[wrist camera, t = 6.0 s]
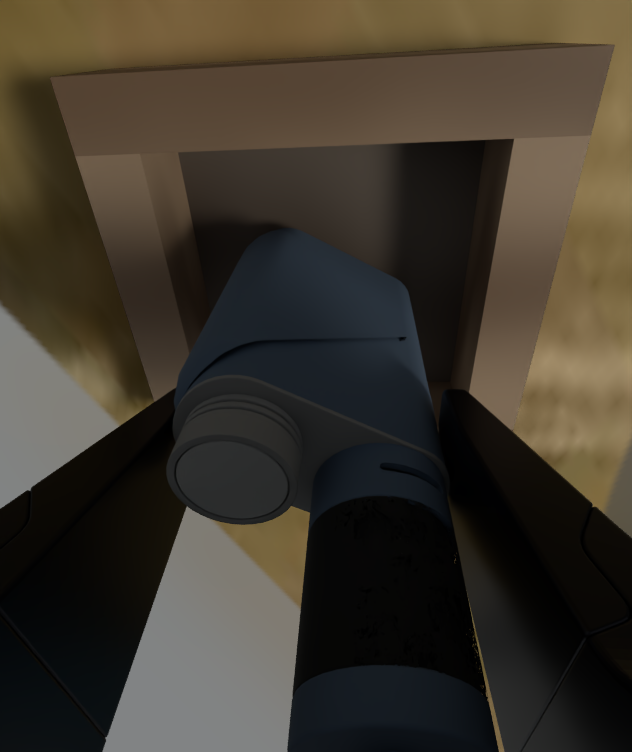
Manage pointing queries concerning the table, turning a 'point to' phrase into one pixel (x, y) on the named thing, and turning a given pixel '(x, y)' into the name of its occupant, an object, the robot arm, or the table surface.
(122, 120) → the socket block
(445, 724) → the vaping device
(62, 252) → the table surface
